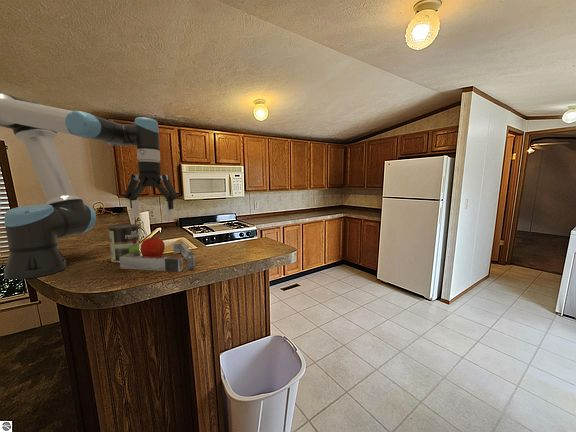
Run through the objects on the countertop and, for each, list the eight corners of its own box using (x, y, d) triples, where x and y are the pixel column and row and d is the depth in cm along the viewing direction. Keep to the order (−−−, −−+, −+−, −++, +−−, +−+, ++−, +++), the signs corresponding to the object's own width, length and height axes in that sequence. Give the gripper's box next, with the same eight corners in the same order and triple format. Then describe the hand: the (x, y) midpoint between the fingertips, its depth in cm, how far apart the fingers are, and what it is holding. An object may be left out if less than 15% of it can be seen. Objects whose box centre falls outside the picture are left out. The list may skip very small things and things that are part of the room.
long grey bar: (195, 268, 90) (195, 255, 90) (189, 272, 86) (188, 259, 85) (129, 264, 93) (128, 252, 92) (120, 268, 89) (119, 255, 88)
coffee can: (146, 256, 104) (144, 224, 102) (125, 263, 94) (123, 228, 92) (126, 254, 106) (123, 223, 104) (104, 261, 96) (101, 227, 94)
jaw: (195, 265, 93) (194, 254, 92) (183, 267, 90) (182, 256, 90) (183, 251, 112) (183, 242, 111) (173, 252, 109) (173, 243, 109)
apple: (168, 264, 94) (167, 237, 93) (143, 269, 89) (141, 240, 87) (162, 259, 101) (161, 234, 99) (139, 263, 95) (137, 236, 94)
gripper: (110, 160, 87) (115, 217, 90) (175, 160, 85) (177, 219, 87) (126, 162, 94) (129, 215, 97) (185, 162, 92) (188, 216, 95)
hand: (152, 217), depth 92 cm, fingers open, 13 cm apart
